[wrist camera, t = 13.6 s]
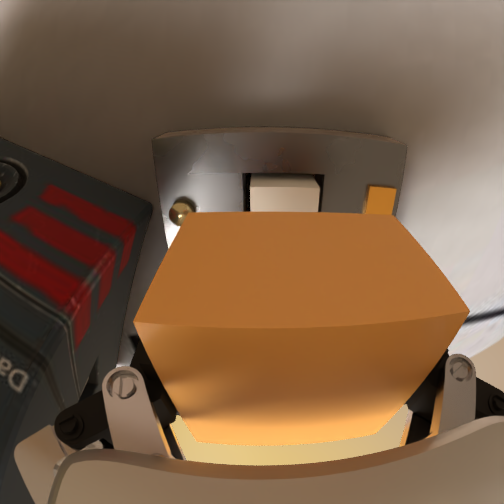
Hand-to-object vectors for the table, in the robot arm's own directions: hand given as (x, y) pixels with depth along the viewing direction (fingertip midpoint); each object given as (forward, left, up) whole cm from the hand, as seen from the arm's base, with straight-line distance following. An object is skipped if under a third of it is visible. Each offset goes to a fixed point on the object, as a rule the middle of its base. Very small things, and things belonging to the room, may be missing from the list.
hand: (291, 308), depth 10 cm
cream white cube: (0, 0, -11) cm, 11 cm away
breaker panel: (0, +4, -12) cm, 12 cm away
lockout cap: (0, 0, -1) cm, 1 cm away
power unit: (+28, +6, -12) cm, 31 cm away
